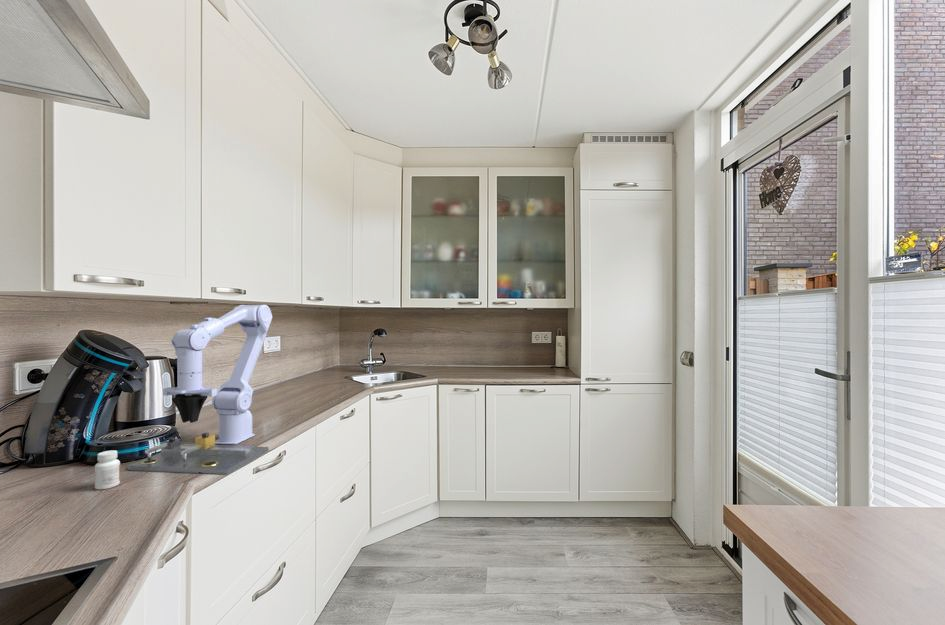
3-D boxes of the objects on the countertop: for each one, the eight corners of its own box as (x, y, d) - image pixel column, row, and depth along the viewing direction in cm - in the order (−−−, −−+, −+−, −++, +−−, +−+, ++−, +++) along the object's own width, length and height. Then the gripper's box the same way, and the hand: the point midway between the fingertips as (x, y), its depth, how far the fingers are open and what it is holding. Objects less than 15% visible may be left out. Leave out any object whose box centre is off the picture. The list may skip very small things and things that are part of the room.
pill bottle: (125, 482, 97) (125, 449, 97) (106, 490, 92) (106, 456, 92) (108, 481, 97) (108, 449, 97) (89, 489, 93) (89, 455, 93)
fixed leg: (172, 448, 116) (172, 436, 116) (180, 448, 115) (180, 436, 115) (142, 460, 106) (142, 447, 106) (151, 460, 106) (151, 447, 106)
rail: (166, 451, 115) (166, 445, 115) (250, 454, 112) (250, 448, 112) (160, 453, 113) (160, 447, 113) (245, 456, 111) (245, 450, 111)
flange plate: (182, 448, 121) (182, 443, 121) (268, 451, 118) (268, 446, 118) (128, 470, 104) (128, 464, 104) (227, 474, 101) (227, 468, 101)
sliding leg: (205, 449, 115) (205, 431, 115) (215, 449, 114) (215, 431, 114) (177, 462, 105) (177, 442, 105) (187, 462, 105) (187, 442, 105)
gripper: (153, 374, 110) (153, 424, 110) (203, 375, 109) (203, 426, 109) (175, 370, 117) (175, 418, 117) (222, 371, 116) (222, 419, 116)
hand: (190, 421), depth 113 cm, fingers closed
